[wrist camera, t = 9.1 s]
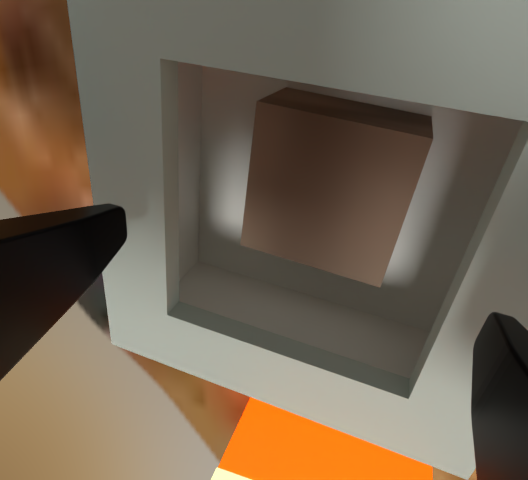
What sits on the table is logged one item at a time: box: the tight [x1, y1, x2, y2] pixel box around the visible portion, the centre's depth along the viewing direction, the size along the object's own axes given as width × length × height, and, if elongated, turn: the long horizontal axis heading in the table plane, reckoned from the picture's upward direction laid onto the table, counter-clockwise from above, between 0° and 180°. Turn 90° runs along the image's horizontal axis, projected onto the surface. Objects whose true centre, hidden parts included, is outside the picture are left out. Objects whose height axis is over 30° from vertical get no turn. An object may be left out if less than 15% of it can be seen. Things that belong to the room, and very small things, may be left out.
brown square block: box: [240, 87, 433, 287], centre depth 13 cm, size 5×5×3 cm
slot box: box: [67, 0, 528, 480], centre depth 13 cm, size 13×13×6 cm
